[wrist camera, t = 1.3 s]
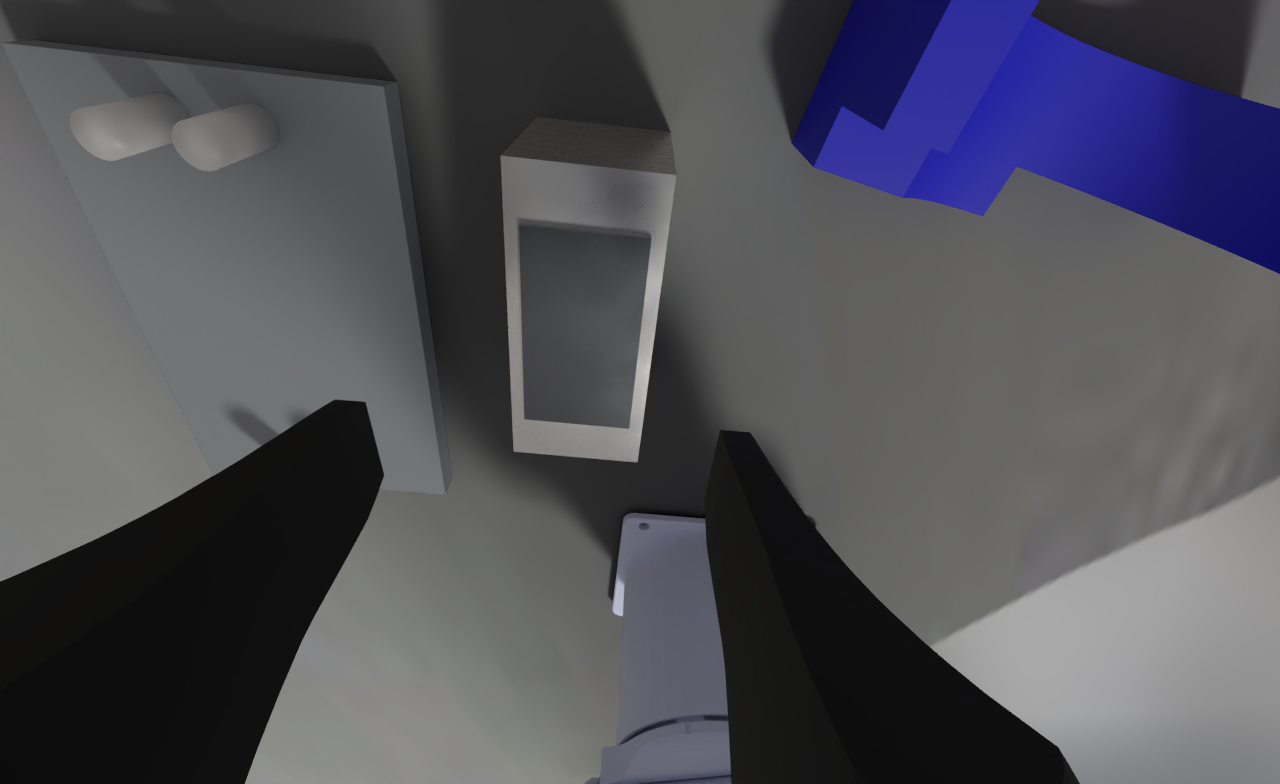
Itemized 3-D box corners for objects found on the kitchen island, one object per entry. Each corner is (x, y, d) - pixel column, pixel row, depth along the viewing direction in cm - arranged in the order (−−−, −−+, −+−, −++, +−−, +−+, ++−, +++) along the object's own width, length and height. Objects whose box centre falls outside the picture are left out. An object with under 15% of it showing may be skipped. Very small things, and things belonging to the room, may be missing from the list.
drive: (670, 131, 17) (676, 177, 12) (640, 375, 22) (637, 465, 18) (537, 116, 16) (499, 157, 12) (539, 366, 22) (512, 454, 18)
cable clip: (790, 142, 17) (845, 202, 12) (867, -37, 14) (978, -52, 9) (1112, 254, 19) (1274, 345, 14) (1232, 114, 16) (1480, 166, 11)
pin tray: (397, 82, 16) (341, 101, 13) (451, 478, 25) (426, 539, 22) (34, 40, 15) (-105, 50, 13) (227, 459, 25) (172, 519, 22)
